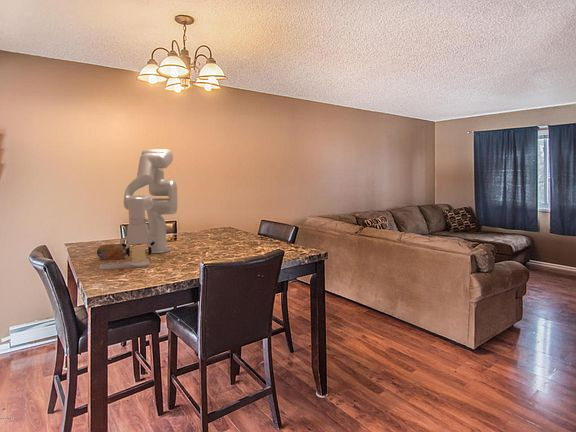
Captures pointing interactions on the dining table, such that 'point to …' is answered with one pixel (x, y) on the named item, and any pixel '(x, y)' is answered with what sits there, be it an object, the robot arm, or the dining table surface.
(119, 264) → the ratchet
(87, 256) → the dining table surface
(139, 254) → the tan wooden cube
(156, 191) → the robot arm
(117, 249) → the tin
